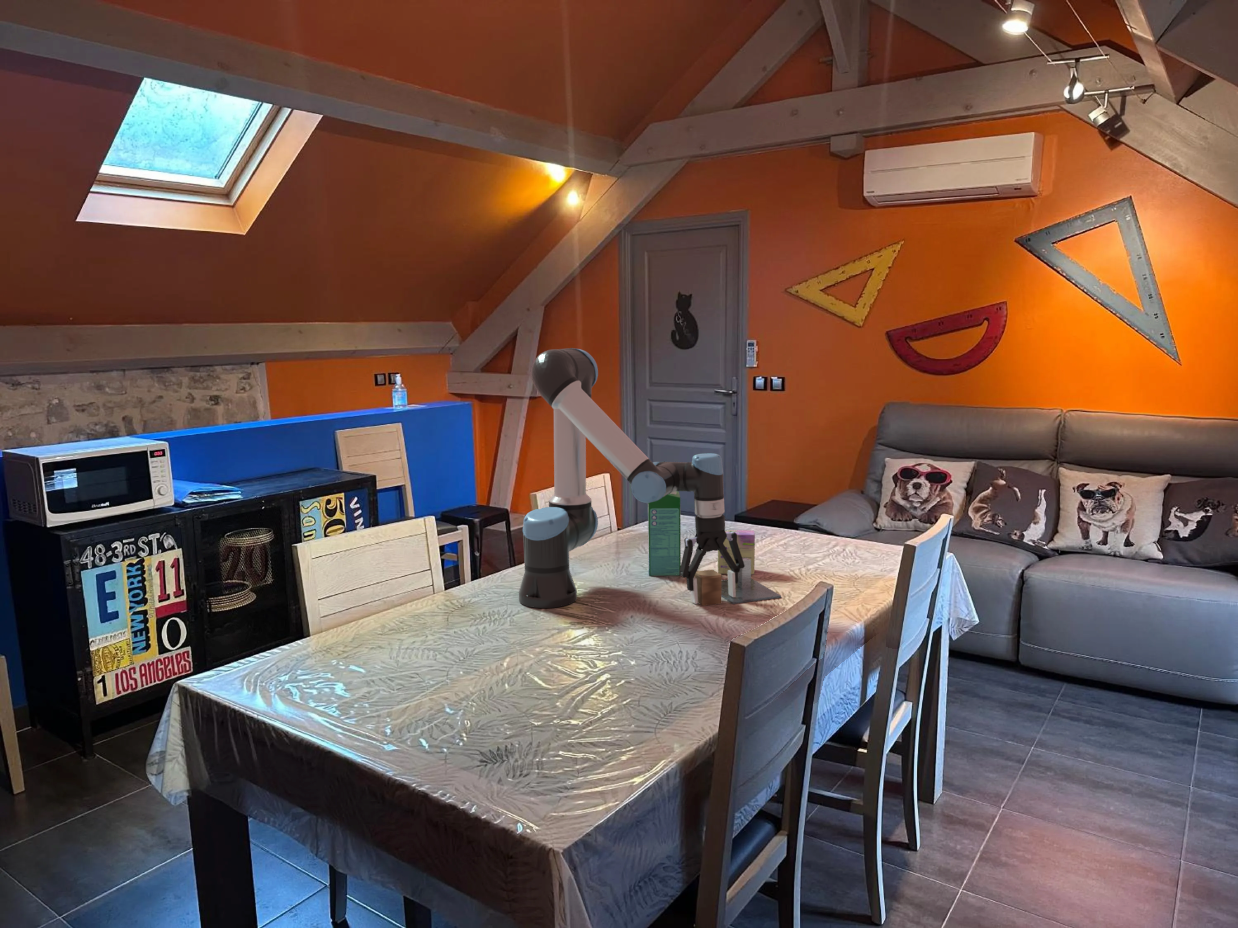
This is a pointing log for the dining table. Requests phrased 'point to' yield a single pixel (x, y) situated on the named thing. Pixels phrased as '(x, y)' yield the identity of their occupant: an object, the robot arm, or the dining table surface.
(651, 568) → the milk carton
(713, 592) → the brown rectangular block
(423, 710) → the dining table surface
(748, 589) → the grey plate
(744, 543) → the box
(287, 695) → the dining table surface
